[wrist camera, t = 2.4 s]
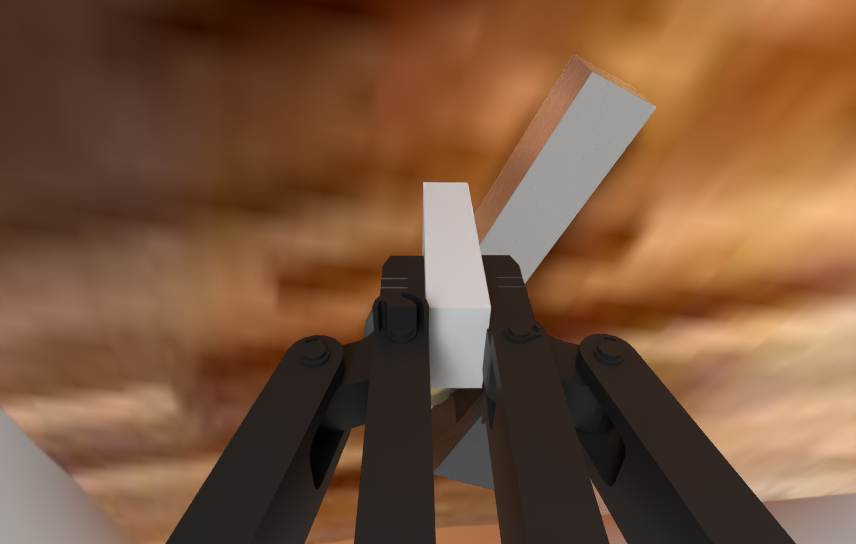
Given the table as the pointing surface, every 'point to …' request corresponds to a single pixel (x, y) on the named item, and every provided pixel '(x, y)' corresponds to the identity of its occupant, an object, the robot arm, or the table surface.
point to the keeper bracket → (458, 433)
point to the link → (559, 163)
